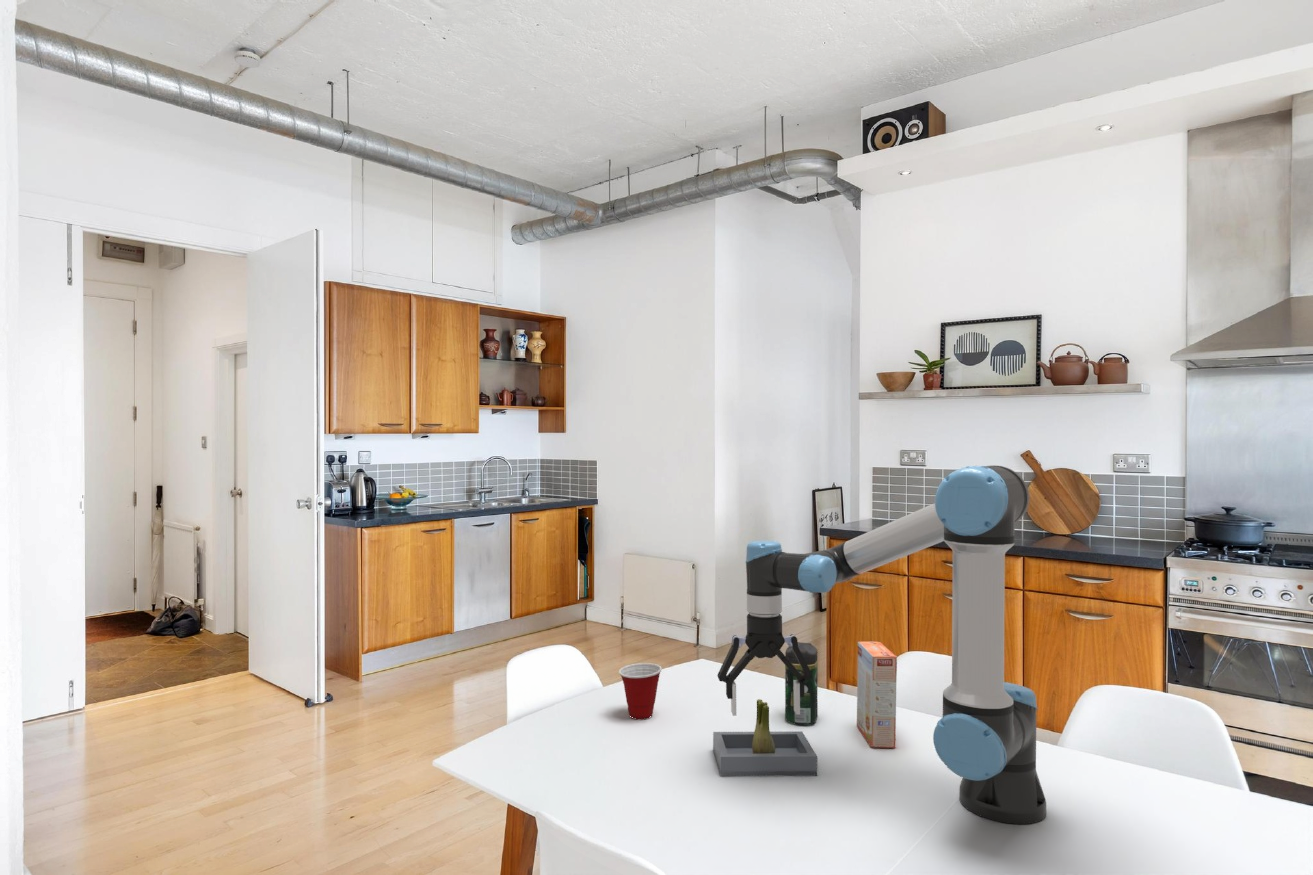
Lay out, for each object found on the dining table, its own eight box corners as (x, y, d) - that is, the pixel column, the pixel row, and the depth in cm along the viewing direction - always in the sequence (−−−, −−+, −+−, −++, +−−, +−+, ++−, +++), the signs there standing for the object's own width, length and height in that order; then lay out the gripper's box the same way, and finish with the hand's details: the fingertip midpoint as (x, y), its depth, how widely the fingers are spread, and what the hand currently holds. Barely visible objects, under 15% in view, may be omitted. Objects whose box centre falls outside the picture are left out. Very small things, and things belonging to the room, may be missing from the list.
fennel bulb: (754, 751, 172) (754, 696, 172) (776, 754, 171) (777, 698, 171) (750, 762, 167) (750, 705, 167) (773, 764, 165) (773, 707, 166)
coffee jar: (787, 711, 201) (788, 638, 202) (819, 715, 199) (819, 641, 199) (782, 724, 192) (782, 648, 192) (815, 728, 190) (815, 651, 190)
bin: (817, 775, 162) (817, 756, 162) (720, 776, 162) (720, 756, 162) (802, 749, 176) (802, 731, 176) (713, 749, 176) (713, 731, 176)
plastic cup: (613, 711, 201) (613, 663, 201) (653, 707, 204) (654, 660, 204) (624, 725, 190) (624, 675, 190) (667, 721, 194) (667, 672, 194)
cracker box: (897, 749, 177) (898, 656, 177) (870, 748, 177) (871, 655, 177) (881, 726, 191) (881, 640, 191) (856, 726, 191) (856, 640, 191)
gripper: (817, 609, 174) (818, 706, 173) (704, 611, 173) (705, 708, 172) (826, 616, 166) (827, 717, 166) (708, 618, 165) (709, 720, 165)
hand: (765, 713), depth 169 cm, fingers open, 13 cm apart
